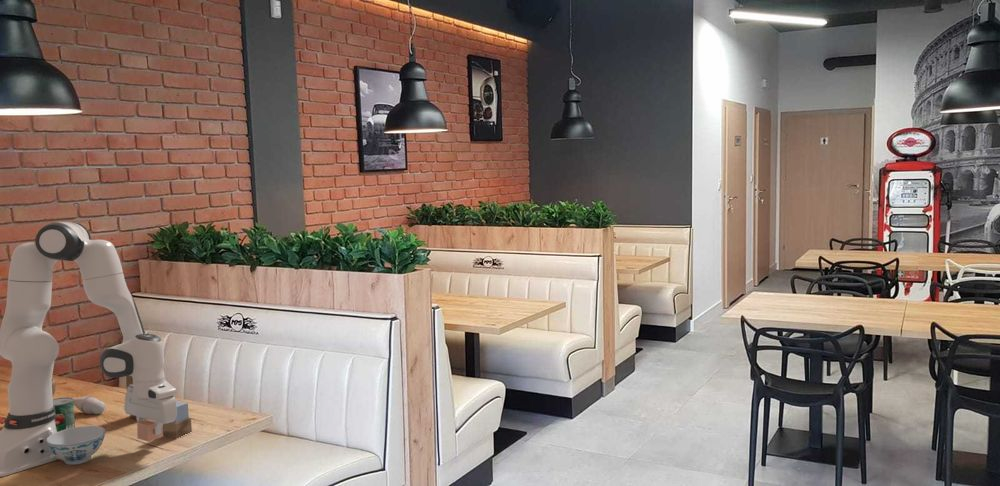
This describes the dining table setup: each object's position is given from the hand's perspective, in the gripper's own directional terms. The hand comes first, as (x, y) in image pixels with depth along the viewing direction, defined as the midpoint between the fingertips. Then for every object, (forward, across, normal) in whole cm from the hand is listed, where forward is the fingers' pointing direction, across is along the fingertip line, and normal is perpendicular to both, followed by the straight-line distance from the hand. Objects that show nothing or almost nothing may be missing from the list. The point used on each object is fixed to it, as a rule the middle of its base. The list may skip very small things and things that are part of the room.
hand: (150, 432), depth 225 cm
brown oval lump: (+5, -29, +19) cm, 35 cm away
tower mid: (0, -4, +12) cm, 12 cm away
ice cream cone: (+5, -50, +11) cm, 52 cm away
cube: (+2, 0, 0) cm, 2 cm away
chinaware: (+6, -12, -16) cm, 20 cm away
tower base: (+5, -4, +12) cm, 13 cm away
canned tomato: (+6, -37, -5) cm, 38 cm away
